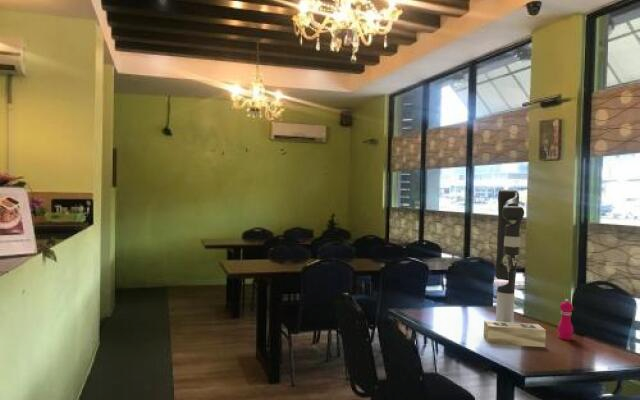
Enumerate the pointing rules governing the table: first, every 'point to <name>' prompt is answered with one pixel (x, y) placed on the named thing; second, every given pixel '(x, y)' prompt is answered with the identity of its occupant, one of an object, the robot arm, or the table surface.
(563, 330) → the pepper mill
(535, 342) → the collar block
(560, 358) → the table surface
